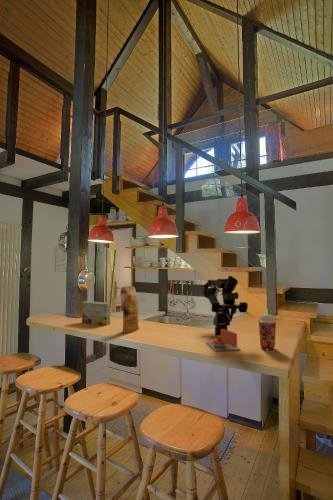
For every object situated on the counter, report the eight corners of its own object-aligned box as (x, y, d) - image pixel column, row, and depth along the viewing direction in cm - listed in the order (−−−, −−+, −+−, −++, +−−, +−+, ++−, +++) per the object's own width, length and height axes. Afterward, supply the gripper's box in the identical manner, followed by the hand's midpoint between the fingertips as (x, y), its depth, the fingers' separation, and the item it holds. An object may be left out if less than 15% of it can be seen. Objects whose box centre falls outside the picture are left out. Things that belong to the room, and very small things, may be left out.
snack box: (81, 323, 197) (81, 301, 198) (86, 321, 202) (86, 300, 203) (106, 325, 188) (106, 303, 189) (110, 324, 194) (111, 302, 194)
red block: (210, 341, 143) (210, 327, 143) (221, 339, 145) (221, 326, 146) (229, 350, 128) (229, 334, 128) (241, 348, 131) (241, 333, 131)
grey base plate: (229, 342, 149) (229, 337, 149) (240, 350, 135) (240, 345, 135) (206, 343, 147) (206, 338, 147) (215, 351, 133) (215, 346, 133)
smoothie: (272, 345, 143) (271, 307, 144) (279, 350, 135) (278, 309, 136) (256, 345, 143) (255, 307, 144) (262, 351, 134) (261, 309, 135)
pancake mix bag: (116, 333, 168) (116, 287, 169) (134, 327, 184) (134, 285, 186) (125, 334, 165) (125, 287, 166) (142, 328, 181) (142, 285, 183)
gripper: (211, 287, 149) (214, 310, 138) (246, 287, 148) (252, 311, 136) (210, 299, 157) (212, 323, 145) (243, 300, 155) (248, 324, 144)
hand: (231, 320), depth 142 cm, fingers closed
